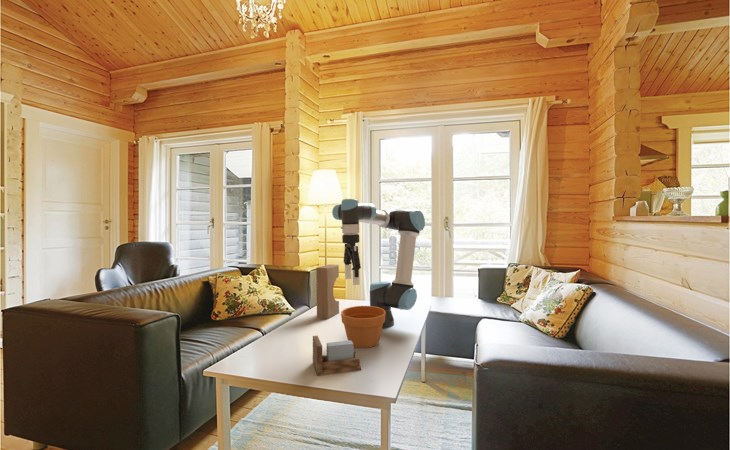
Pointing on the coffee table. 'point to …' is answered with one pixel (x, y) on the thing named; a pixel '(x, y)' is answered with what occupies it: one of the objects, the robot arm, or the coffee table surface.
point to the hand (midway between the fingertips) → (352, 281)
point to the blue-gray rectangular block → (339, 350)
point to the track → (331, 366)
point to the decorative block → (326, 291)
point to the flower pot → (363, 325)
